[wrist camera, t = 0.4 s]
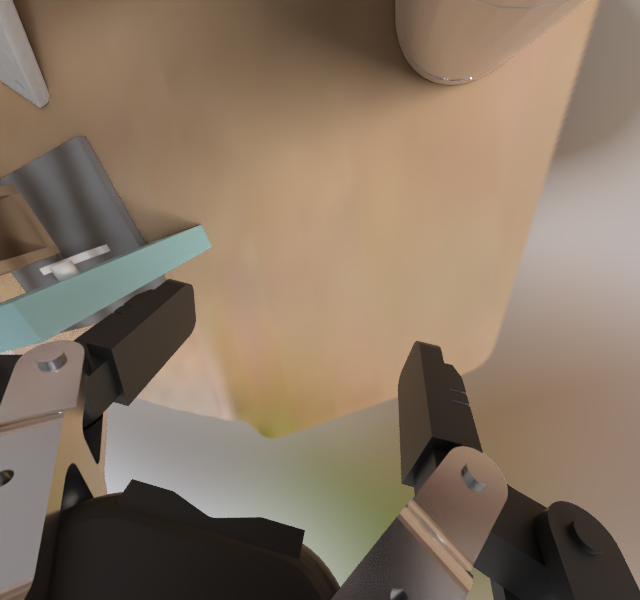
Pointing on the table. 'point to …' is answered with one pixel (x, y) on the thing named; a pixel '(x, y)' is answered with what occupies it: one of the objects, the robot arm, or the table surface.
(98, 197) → the cabinet
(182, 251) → the teal rectangular block
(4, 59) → the handle
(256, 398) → the table surface
